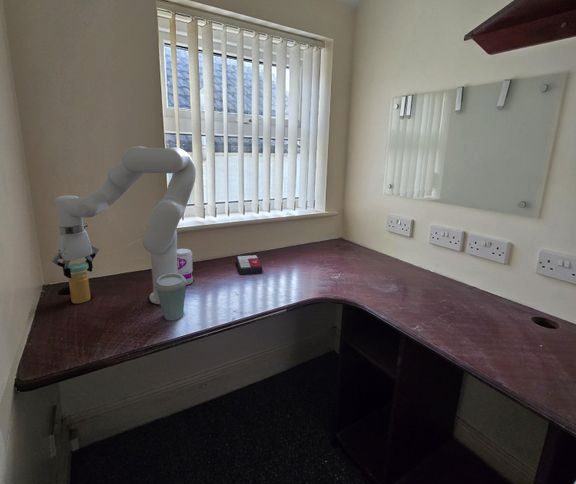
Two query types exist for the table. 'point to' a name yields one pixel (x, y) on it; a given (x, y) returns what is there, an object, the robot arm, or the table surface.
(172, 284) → the disposable coffee cup
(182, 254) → the supplement can
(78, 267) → the lid
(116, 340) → the table surface
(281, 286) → the table surface
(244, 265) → the black product box
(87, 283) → the jam jar
